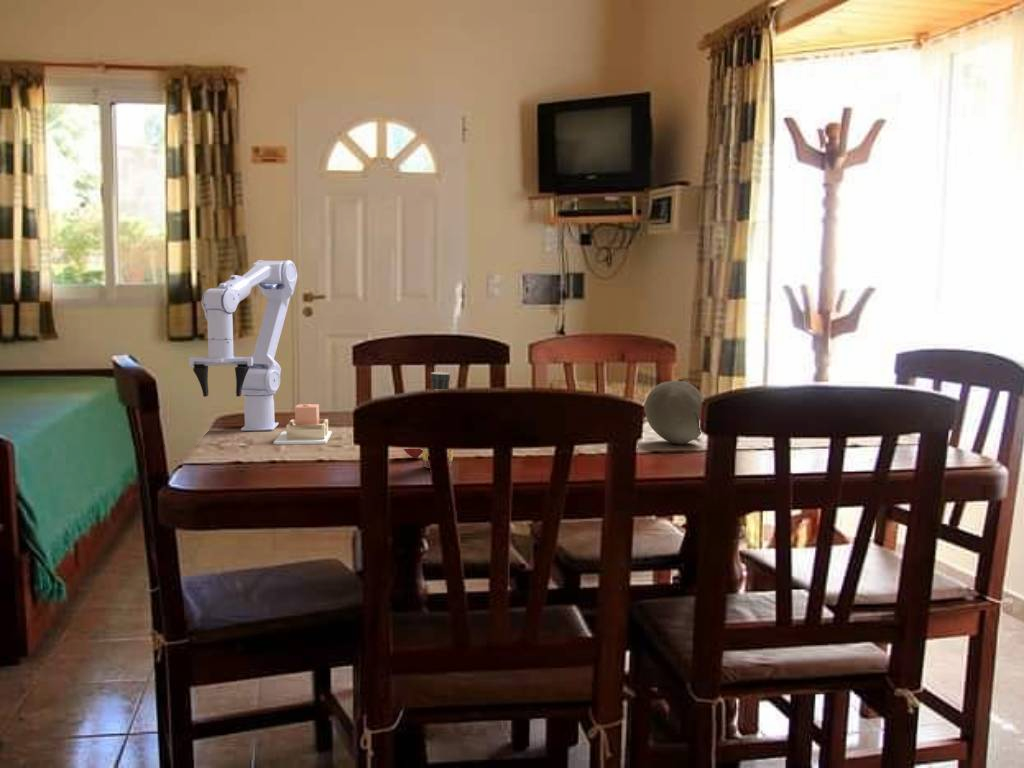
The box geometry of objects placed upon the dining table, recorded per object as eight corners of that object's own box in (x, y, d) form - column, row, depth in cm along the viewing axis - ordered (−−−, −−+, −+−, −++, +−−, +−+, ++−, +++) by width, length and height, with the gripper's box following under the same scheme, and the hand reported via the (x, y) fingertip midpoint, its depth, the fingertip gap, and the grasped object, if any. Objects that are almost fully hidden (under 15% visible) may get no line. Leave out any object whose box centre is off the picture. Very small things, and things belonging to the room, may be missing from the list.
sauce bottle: (423, 471, 196) (422, 374, 193) (421, 465, 202) (421, 371, 199) (455, 470, 197) (455, 374, 194) (452, 464, 203) (452, 370, 200)
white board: (282, 433, 237) (282, 431, 237) (331, 433, 238) (331, 430, 238) (273, 444, 224) (273, 441, 223) (325, 443, 225) (325, 441, 224)
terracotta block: (298, 424, 233) (298, 403, 232) (319, 424, 233) (318, 403, 233) (295, 428, 228) (294, 406, 227) (316, 428, 228) (316, 406, 228)
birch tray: (291, 433, 235) (291, 419, 235) (328, 432, 236) (328, 419, 235) (286, 439, 226) (286, 425, 226) (324, 439, 227) (324, 425, 227)
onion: (426, 461, 206) (426, 424, 205) (399, 460, 206) (399, 424, 205) (429, 455, 211) (429, 420, 210) (403, 455, 212) (403, 419, 211)
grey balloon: (699, 438, 234) (701, 377, 232) (710, 449, 220) (712, 385, 218) (641, 438, 234) (642, 377, 232) (648, 449, 220) (649, 384, 218)
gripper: (185, 340, 223) (187, 398, 224) (248, 340, 224) (250, 398, 226) (192, 338, 230) (194, 394, 231) (254, 338, 231) (255, 394, 233)
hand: (222, 396), depth 229 cm, fingers open, 7 cm apart
